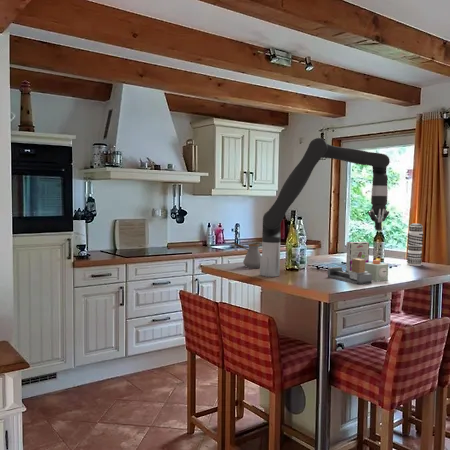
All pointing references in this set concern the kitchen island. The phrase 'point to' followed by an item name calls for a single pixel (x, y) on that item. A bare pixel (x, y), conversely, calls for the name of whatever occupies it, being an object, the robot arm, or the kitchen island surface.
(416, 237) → the decorative candle
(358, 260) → the carriage
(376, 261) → the button
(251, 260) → the coffee pot
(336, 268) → the rail
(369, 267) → the gauge cabinet
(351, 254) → the candy bar box
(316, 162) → the robot arm
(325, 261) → the kitchen island surface
